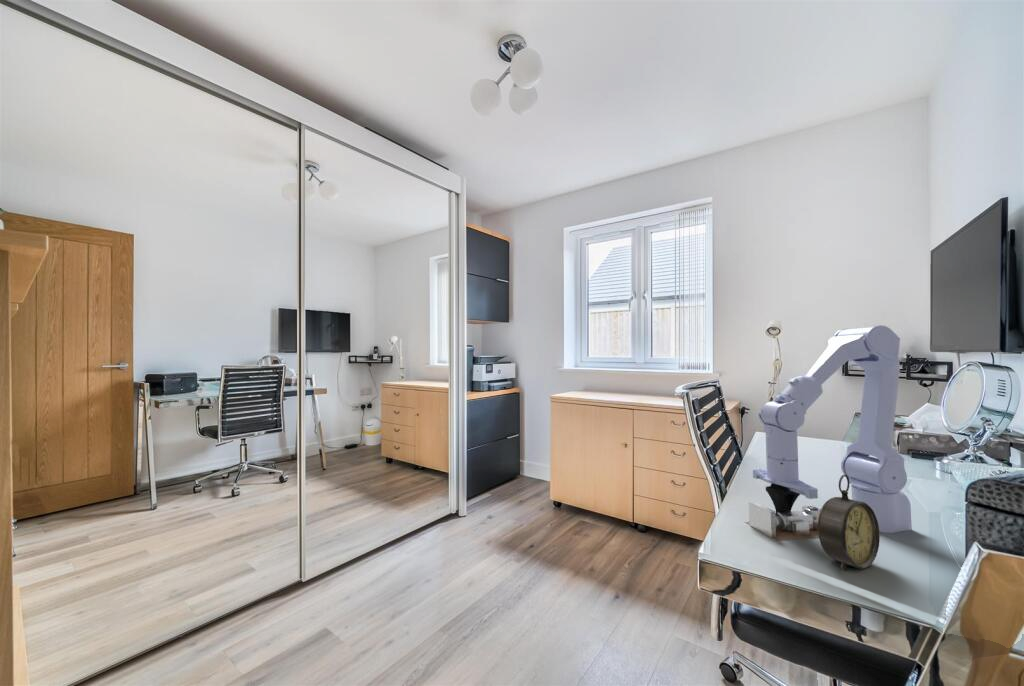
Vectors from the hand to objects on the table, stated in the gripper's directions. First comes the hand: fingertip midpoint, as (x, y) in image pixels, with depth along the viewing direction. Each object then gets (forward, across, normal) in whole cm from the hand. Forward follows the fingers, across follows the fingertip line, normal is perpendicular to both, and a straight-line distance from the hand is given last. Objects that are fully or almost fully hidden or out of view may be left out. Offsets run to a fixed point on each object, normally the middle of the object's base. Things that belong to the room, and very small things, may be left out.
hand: (783, 521), depth 84 cm
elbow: (+1, +2, +2) cm, 3 cm away
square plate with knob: (+1, +2, -3) cm, 3 cm away
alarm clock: (+2, +15, -2) cm, 15 cm away
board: (+2, +2, +1) cm, 3 cm away
